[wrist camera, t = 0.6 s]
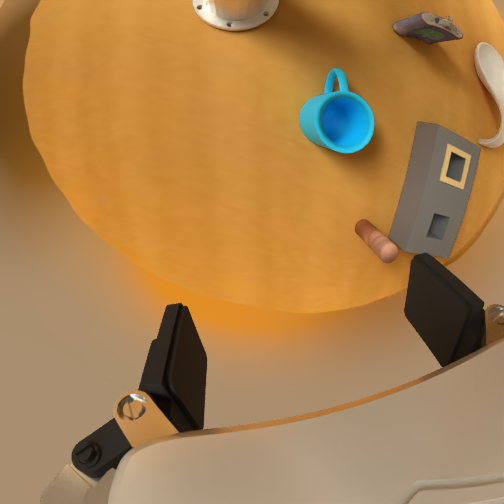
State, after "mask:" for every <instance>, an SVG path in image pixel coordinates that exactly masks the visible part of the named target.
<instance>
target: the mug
mask: <svg viewBox="0 0 504 504" xmlns="http://www.w3.org/2000/svg"><path fill="white" fill-rule="evenodd" d="M336 76H337V78H338V82H339V91H336V92H332V90H333V84H334V81H335V78H336ZM299 119H300V127H301V129H302V131H303V133H304V135H305V136H306V137H307V138H308V139H309V140H310V141H311V142H313V143H315V144H316V145H319V146H322V147H325V148H328V149H331V150H334V151H337V152H341V153H354V152H356V151H358V150H361V149H362V148H363V147H364V146H366V145H367V144H368V143H369V141H370V139H371V137H372V135H373V131H374V116H373V114H372V111H371V108H370V107H369V105H368V104H367V103H366V101H365V100H364V99H362V98H361V97H360V96H358V95H357V94H355V93H352V92H349V91H348V83H347V79H346V76H345V73H344V72H343V71H342V70H341V69H339V68H333V69H331V70H330V71H329V73H328V76H327V79H326V83H325V89H324V94H322V95H318V96H316V97H313V98H311V99H310V100H308V101H307V102H306V103H305V104H304V106H303V108H302V109H301V113H300V118H299Z"/></svg>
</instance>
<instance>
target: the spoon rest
mask: <svg viewBox="0 0 504 504" xmlns="http://www.w3.org/2000/svg"><path fill="white" fill-rule="evenodd" d="M474 61H475V68H476V72H477V75H478V77H479V78H480V80H481V81H482V83H483V84H484V86H485V87H486V88H487V90H488V91H489V92H490V94H491V95H492V97H493V98H494V100H495V102H496V104H497V106H498V108H499V111H500V116H501V122H500V127H499V130H498V132H497V134H496V135H495V136H494V137H493V138H491V139H479V140H478V143H479V144H481V145H483V146H486V147H489V148H497V147H500V146H501V145H502V144H503V143H504V61H503V59H502V58H501V56H500V54H499V53H498V52H497V51H496V49H495V48H493V47H492V46H491V45H490V44H488V43H485V42H480V43H479V44H478V45H477V47H476V49H475V53H474Z"/></svg>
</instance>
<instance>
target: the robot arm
mask: <svg viewBox="0 0 504 504" xmlns="http://www.w3.org/2000/svg"><path fill="white" fill-rule="evenodd" d="M192 3H193V7H194V10H195V12H196V14H197V15H198V16H199V18H200V19H201V20H202V21H204V22H205V23H207V24H208V25H210V26H212V27H215V28H218V29H222V30H228V31H241V30H248V29H251V28H255V27H257V26H259V25H261V24H263V23H264V22H266V21H267V20H269V19H270V18H271V17H272V16H273V14H274V13H275V11H276V9H277V7H278V4H279V0H192ZM200 8H201V10H199V9H200ZM264 15H267V16H264ZM228 25H231V27H228ZM483 306H484V302H483V301H482V300H481V299H480V298H479V297H478V296H477V295H476V294H475V293H474V292H473V291H471V290H470V289H469V288H468V287H467V286H466V285H465V284H464V283H463V282H462V281H460V280H459V279H458V278H457V277H456V276H455V275H453V274H452V273H451V272H450V271H449V270H448V269H447V268H445V267H444V266H443V265H442V264H441V263H439V262H438V261H437V260H436V259H435V258H433V257H432V256H431V255H430V254H428V253H422V254H418V255H415V256H414V258H413V259H412V261H411V265H410V274H409V282H408V289H407V296H406V302H405V308H404V312H405V316H406V318H407V319H408V320H409V322H410V323H411V324H412V326H413V327H414V328H415V330H416V331H417V332H418V334H419V335H420V337H421V338H422V339H423V341H424V342H425V343H426V345H427V346H428V348H429V349H430V350H431V352H432V353H433V355H434V356H435V357H436V359H437V361H438V362H439V363H440V365H441V366H442V367H443V368H441V369H439V370H436V371H434V372H432V373H430V374H427V375H425V376H423V377H420V378H418V379H416V380H413V381H411V382H408V383H406V384H403V385H400V386H398V387H395V388H392V389H390V390H387V391H384V392H381V393H378V394H375V395H372V396H369V397H366V398H363V399H360V400H357V401H354V402H350V403H346V404H343V405H339V406H335V407H332V408H328V409H324V410H320V411H316V412H312V413H307V414H303V415H298V416H293V417H288V418H284V419H277V420H271V421H265V422H259V423H253V424H246V425H239V426H230V427H222V428H212V429H204V430H202V429H203V427H204V407H205V388H206V371H207V356H206V352H205V350H204V347H203V345H202V343H201V340H200V338H199V335H198V333H197V330H196V327H195V325H194V322H193V320H192V317H191V314H190V312H189V309H188V307H187V306H183V305H182V304H181V303H178V304H171V305H167V306H166V309H165V312H164V316H163V319H162V323H161V326H160V329H159V333H158V336H157V339H154V340H153V341H152V343H151V346H150V349H149V353H148V356H147V360H146V363H145V367H144V371H143V374H142V378H141V382H140V386H139V389H138V391H136V390H135V391H129V392H127V393H125V394H123V395H122V396H120V397H119V398H118V399H117V401H116V402H115V404H114V407H113V414H114V417H115V418H113V419H112V420H110V421H109V422H108V423H106V424H105V425H103V426H102V427H100V428H99V429H98V430H96V431H95V432H93V433H92V434H91V435H89V436H87V437H86V438H84V439H83V440H81V441H80V442H79V443H78V444H77V445H76V446H75V448H74V449H73V451H72V462H73V463H72V464H71V465H70V466H69V465H68V464H66V465H65V467H64V468H63V469H62V470H61V471H60V473H59V474H58V475H57V476H56V477H55V478H54V480H53V481H52V482H51V483H50V484H49V486H48V487H47V488H46V489H45V490H44V492H43V493H42V495H41V500H40V501H41V504H504V306H502V305H498V304H493V305H490V306H488V307H487V308H486V310H484V309H483Z"/></svg>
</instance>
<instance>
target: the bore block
mask: <svg viewBox="0 0 504 504" xmlns="http://www.w3.org/2000/svg"><path fill="white" fill-rule="evenodd" d="M480 151H481V148H480V147H478V146H476V145H475V144H473V143H471V142H470V141H468V140H466V139H464V138H463V137H461V136H459V135H457V134H456V133H454V132H452V131H450V130H448V129H446V128H444V127H442V126H440V125H438V124H431V123H424V122H417V127H416V132H415V137H414V142H413V147H412V152H411V156H410V161H409V165H408V169H407V174H406V178H405V182H404V185H403V189H402V193H401V197H400V200H399V204H398V207H397V211H396V214H395V217H394V220H393V224H392V227H391V230H390V233H389V236H388V237H389V238H390V239H391V240H392V241H393V242H394V243H395V244H396V245H397V246H399V247H400V248H401V249H402V250H403V251H404V252H409V253H416V254H422V253H428V254H430V255H431V256H436V257H443V258H449V255H450V253H451V250H452V248H453V245H454V243H455V240H456V237H457V234H458V232H459V229H460V226H461V223H462V220H463V217H464V214H465V210H466V207H467V204H468V200H469V197H470V193H471V190H472V186H473V182H474V178H475V174H476V170H477V165H478V160H479V156H480Z"/></svg>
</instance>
